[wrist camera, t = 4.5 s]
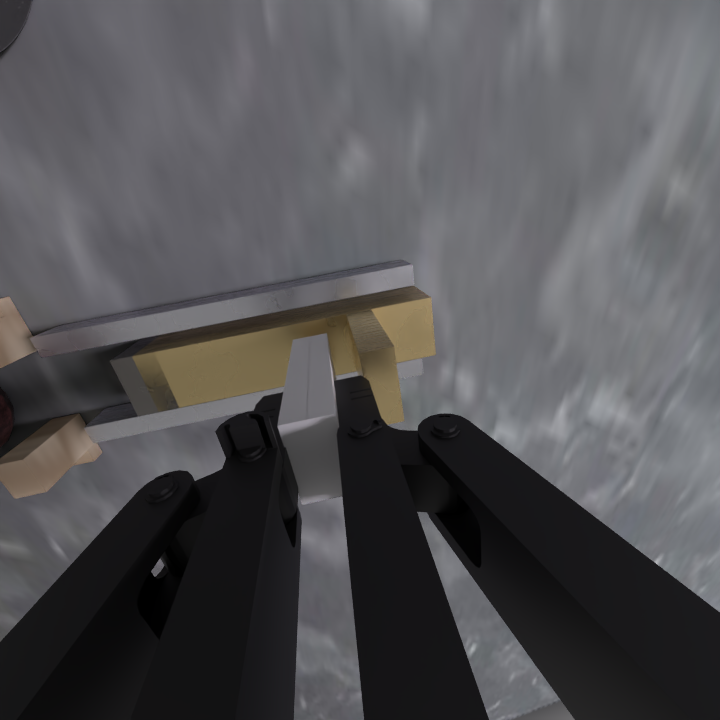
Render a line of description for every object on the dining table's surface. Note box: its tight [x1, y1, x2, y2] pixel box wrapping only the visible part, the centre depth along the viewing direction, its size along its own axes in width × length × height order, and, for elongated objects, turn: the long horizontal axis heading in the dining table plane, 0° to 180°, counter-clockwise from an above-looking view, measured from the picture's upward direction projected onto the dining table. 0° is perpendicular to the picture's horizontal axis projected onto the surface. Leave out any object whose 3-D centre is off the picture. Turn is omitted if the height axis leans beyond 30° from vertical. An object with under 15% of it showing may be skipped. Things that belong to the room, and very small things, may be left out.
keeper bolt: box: [110, 286, 436, 425], centre depth 15 cm, size 3×15×8 cm, turn 100°
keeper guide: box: [30, 260, 423, 443], centre depth 18 cm, size 6×18×2 cm, turn 100°
